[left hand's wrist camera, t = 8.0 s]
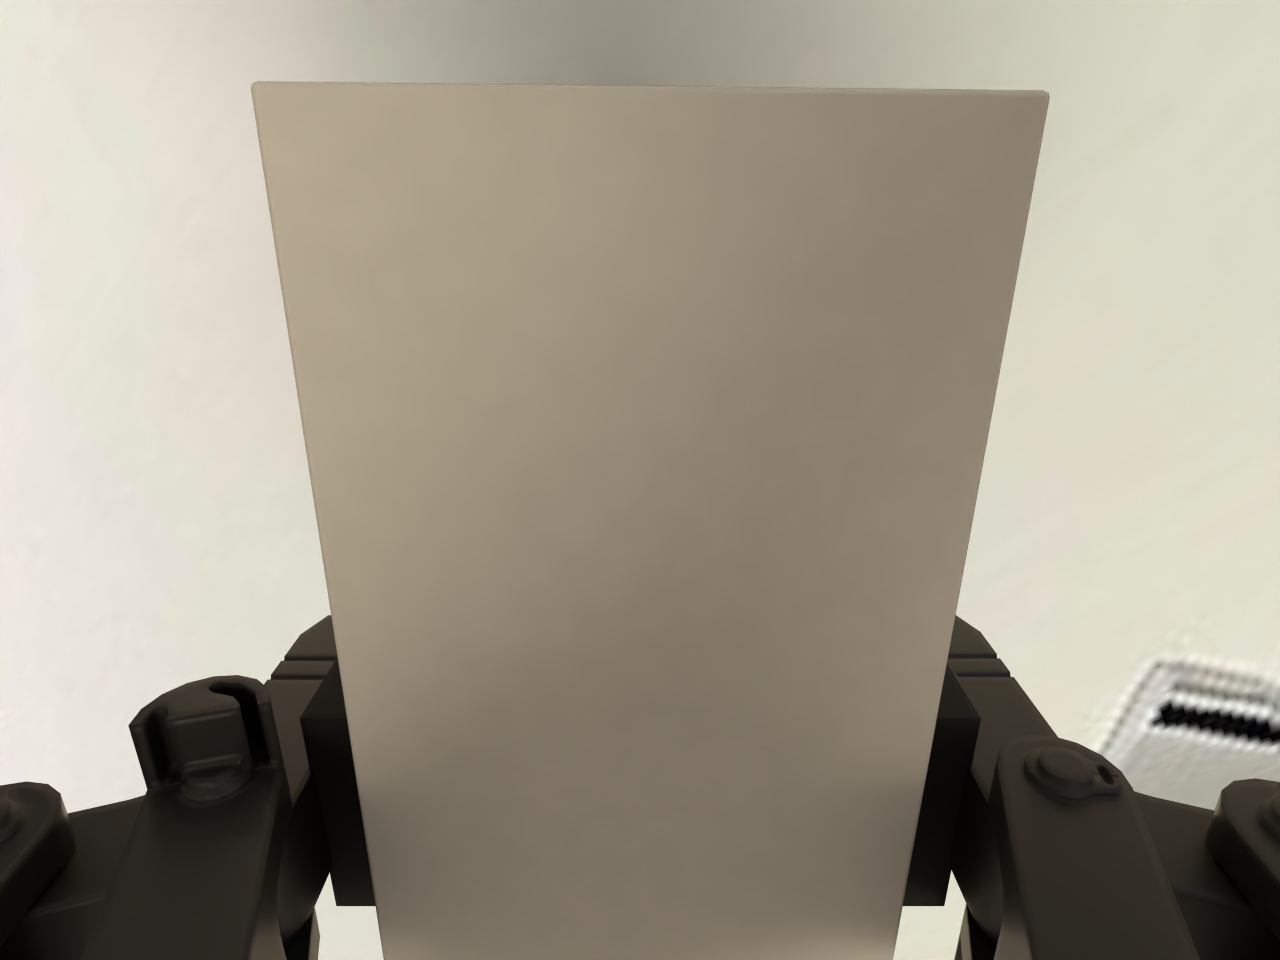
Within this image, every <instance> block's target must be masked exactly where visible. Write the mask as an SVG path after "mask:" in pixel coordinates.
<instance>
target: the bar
mask: <svg viewBox="0 0 1280 960" xmlns="http://www.w3.org/2000/svg"><path fill="white" fill-rule="evenodd" d="M251 92H252V98H253V105H254V111H255V118H256V124H257V131H258V137H259V144H260V151H261V157H262V164H263V170H264V177H265V183H266V190H267V196H268V203H269V210H270V216H271V223H272V229H273V236H274V242H275V249H276V256H277V262H278V269H279V275H280V282H281V288H282V295H283V301H284V308H285V315H286V321H287V328H288V334H289V341H290V347H291V354H292V360H293V367H294V374H295V380H296V387H297V393H298V400H299V406H300V413H301V419H302V426H303V433H304V439H305V446H306V452H307V459H308V465H309V472H310V478H311V485H312V492H313V498H314V505H315V511H316V518H317V524H318V531H319V537H320V544H321V551H322V557H323V564H324V570H325V577H326V583H327V590H328V596H329V603H330V610H331V616H332V623H333V629H334V636H335V642H336V649H337V656H338V662H339V669H340V675H341V682H342V688H343V695H344V701H345V708H346V715H347V721H348V728H349V734H350V741H351V747H352V754H353V760H354V767H355V774H356V780H357V787H358V793H359V800H360V806H361V813H362V819H363V826H364V833H365V839H366V846H367V852H368V859H369V865H370V872H371V878H372V885H373V892H374V898H375V905H376V911H377V918H378V924H379V931H380V938H381V944H382V951H383V957H384V960H893V956H894V950H895V945H896V939H897V934H898V928H899V923H900V917H901V912H902V906H903V901H904V895H905V890H906V884H907V879H908V873H909V868H910V862H911V857H912V851H913V846H914V840H915V835H916V829H917V824H918V818H919V813H920V807H921V802H922V796H923V791H924V785H925V780H926V774H927V769H928V763H929V758H930V752H931V747H932V741H933V736H934V730H935V725H936V719H937V714H938V708H939V703H940V697H941V692H942V686H943V681H944V675H945V670H946V664H947V659H948V653H949V648H950V642H951V637H952V631H953V626H954V620H955V615H956V609H957V604H958V598H959V593H960V587H961V582H962V576H963V571H964V565H965V560H966V554H967V549H968V543H969V538H970V532H971V527H972V521H973V516H974V510H975V505H976V499H977V494H978V488H979V483H980V477H981V472H982V466H983V461H984V455H985V450H986V444H987V439H988V433H989V428H990V422H991V417H992V411H993V406H994V400H995V395H996V389H997V384H998V378H999V373H1000V367H1001V362H1002V356H1003V351H1004V345H1005V340H1006V334H1007V329H1008V323H1009V318H1010V312H1011V307H1012V301H1013V296H1014V290H1015V285H1016V279H1017V274H1018V268H1019V263H1020V257H1021V252H1022V246H1023V241H1024V235H1025V230H1026V224H1027V219H1028V213H1029V208H1030V202H1031V197H1032V191H1033V186H1034V180H1035V175H1036V169H1037V164H1038V158H1039V153H1040V147H1041V142H1042V136H1043V131H1044V125H1045V120H1046V114H1047V109H1048V103H1049V93H1047V92H1045V91H1043V90H962V89H874V88H786V87H698V86H610V85H523V84H435V83H347V82H259V81H257V82H255V83H253V84H252V86H251Z"/></svg>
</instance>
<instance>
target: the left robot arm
mask: <svg viewBox="0 0 1280 960" xmlns="http://www.w3.org/2000/svg"><path fill="white" fill-rule="evenodd" d="M129 729H130V732H131V736H132V739H133V742H134V746H135V749H136V752H137V756H138V759H139V762H140V766H141V769H142V773H143V776H144V779H145V783H146V786H147V789H148V790H147V792H146V795H144V796H140V797H137V798H134V799H130V800H126V801H122V802H117V803H113V804H108V805H104V806H99V807H95V808H90V809H86V810H82V811H77V812H73V813H68V814H67V811H66V809H65V806H64V803H63V800H62V797H61V794H60V793H59V792H58V791H56V790H55V789H54V788H52V787H51V786H50V785H48V784H42V783H34V782H21V783H14V784H8V785H1V786H0V960H318V951H319V940H320V934H319V928H318V922H317V916H316V912H315V907H314V906H315V904H316V902H317V900H318V897H319V895H320V893H321V891H322V888H323V886H324V884H325V881H326V879H327V877H328V875H329V872H330V876H331V881H332V886H333V891H334V896H335V901H336V906H376V905H375V898H374V892H373V885H372V878H371V872H370V865H369V859H368V852H367V846H366V839H365V833H364V826H363V819H362V813H361V806H360V800H359V793H358V787H357V780H356V774H355V767H354V760H353V754H352V747H351V741H350V734H349V728H348V721H347V715H346V708H345V701H344V695H343V688H342V682H341V675H340V669H339V662H338V656H337V649H336V642H335V636H334V629H333V623H332V616H331V615H328V616H327V617H325V618H324V619H323V620H321V621H320V622H318V623H317V624H315V625H314V626H312V627H311V628H309V629H308V630H307V631H305V632H304V633H302V634H301V635H300V636H299V637H298V639H297V640H296V642H295V643H294V644H293V646H292V647H291V648H290V650H289V651H288V653H287V654H286V655H285V659H284V661H281V662H280V663H279V665H278V666H277V668H276V669H275V670H274V672H273V673H272V674H271V680H267V681H266V683H265V684H264V685H263V684H262V683H261V682H260V681H258V680H257V679H253V678H248V677H244V676H239V675H233V676H214V677H210V678H206V679H202V680H198V681H194V682H190V683H187V684H184V685H182V686H180V687H178V688H175V689H173V690H171V691H169V692H166V693H164V694H162V695H161V696H159V697H158V698H156V699H155V700H154V701H152V702H151V703H149V704H148V705H146V706H145V707H144V708H142V709H141V710H140V711H139V713H138V714H137V715H136V717H135V718H134V719H133V720H132V722H131V723H130V724H129ZM951 870H952V872H953V874H954V876H955V879H956V881H957V883H958V885H959V888H960V890H961V892H962V894H963V897H964V899H965V901H966V907H965V912H964V916H963V921H962V926H961V931H960V935H959V940H958V945H957V949H956V954H955V959H954V960H1280V782H1275V781H1268V780H1262V779H1247V780H1239V781H1233V782H1232V783H1231V784H1229V785H1228V786H1227V787H1225V788H1224V789H1223V790H1222V791H1221V794H1220V797H1219V799H1218V802H1217V805H1216V808H1215V811H1214V810H1209V809H1205V808H1200V807H1196V806H1191V805H1187V804H1182V803H1178V802H1173V801H1169V800H1164V799H1160V798H1155V797H1151V796H1148V795H1144V794H1141V793H1138V792H1134V791H1133V788H1132V787H1131V785H1130V784H1129V782H1128V781H1127V779H1126V778H1125V776H1124V775H1123V773H1122V772H1121V771H1120V770H1119V769H1118V768H1116V767H1115V766H1114V765H1113V764H1112V763H1110V762H1109V761H1108V760H1107V759H1105V758H1104V757H1103V756H1102V755H1100V754H1098V753H1096V752H1094V751H1092V750H1090V749H1088V748H1086V747H1084V746H1082V745H1080V744H1078V743H1075V742H1072V741H1068V740H1065V739H1061V738H1058V737H1057V735H1056V734H1055V733H1054V731H1053V730H1052V729H1051V727H1050V726H1049V725H1048V723H1047V722H1046V720H1045V719H1044V718H1043V716H1042V715H1041V714H1040V712H1039V711H1038V710H1037V708H1036V707H1035V705H1034V704H1033V703H1032V701H1031V700H1030V699H1029V697H1028V696H1027V695H1026V693H1025V692H1024V691H1023V689H1022V688H1021V686H1020V685H1019V684H1018V682H1017V681H1016V680H1015V678H1014V677H1010V672H1009V670H1008V669H1007V667H1006V666H1005V665H1004V663H1003V662H1002V661H1001V659H997V654H996V653H995V651H994V650H993V648H992V647H991V646H990V644H989V643H988V642H987V640H986V639H985V638H984V636H983V635H982V634H981V632H980V631H978V630H977V629H975V628H974V627H972V626H971V625H969V624H968V623H966V622H965V621H963V620H962V619H961V618H959V617H958V616H956V615H955V620H954V626H953V631H952V637H951V642H950V648H949V653H948V659H947V664H946V670H945V675H944V681H943V686H942V692H941V697H940V703H939V708H938V714H937V719H936V725H935V730H934V736H933V741H932V747H931V752H930V758H929V763H928V769H927V774H926V780H925V785H924V791H923V796H922V802H921V807H920V813H919V818H918V824H917V829H916V835H915V840H914V846H913V851H912V857H911V862H910V868H909V873H908V879H907V884H906V890H905V895H904V901H903V906H944V904H945V899H946V894H947V889H948V884H949V879H950V874H951Z"/></svg>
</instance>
